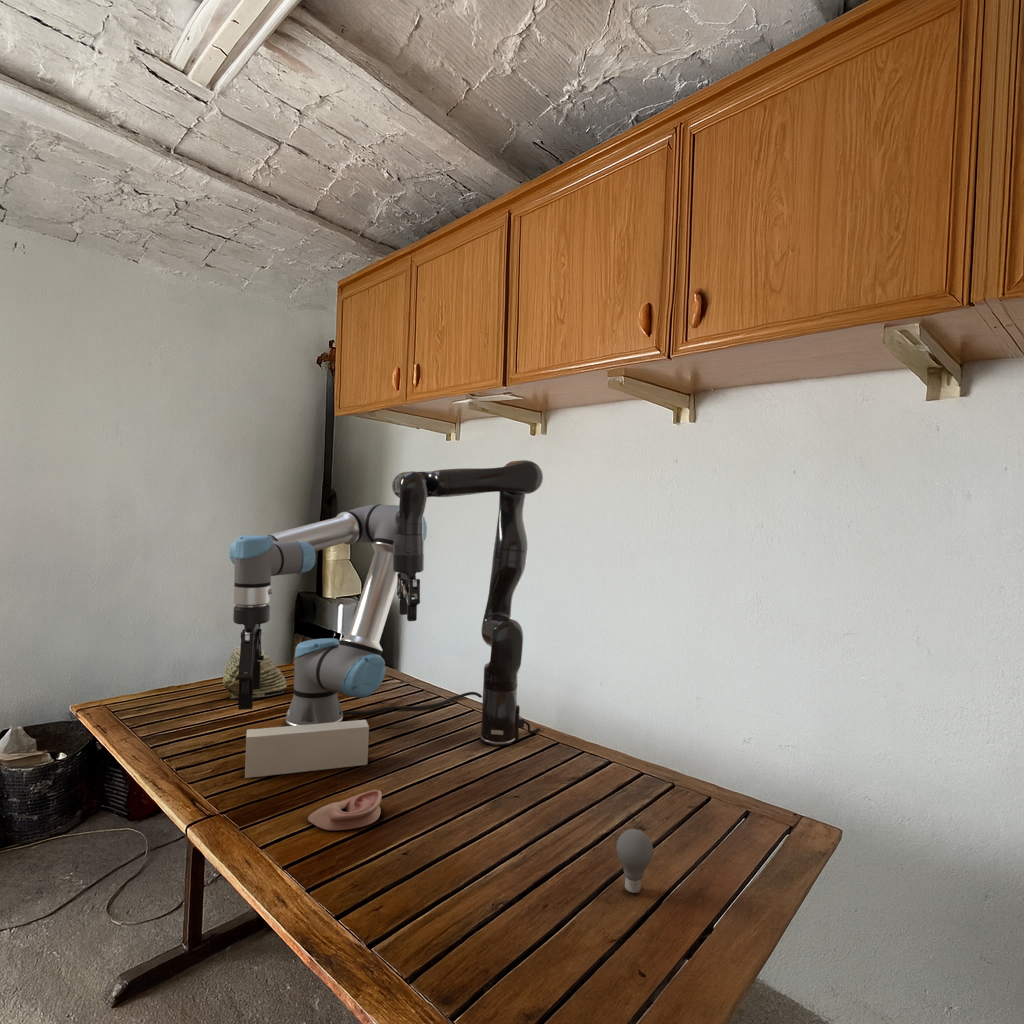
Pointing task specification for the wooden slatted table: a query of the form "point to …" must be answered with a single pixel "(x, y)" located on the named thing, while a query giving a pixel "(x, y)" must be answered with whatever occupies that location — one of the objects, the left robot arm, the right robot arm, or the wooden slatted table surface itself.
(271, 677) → the fossil
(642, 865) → the light bulb
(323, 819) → the anatomical model
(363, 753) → the bar
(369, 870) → the wooden slatted table surface
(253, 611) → the left robot arm
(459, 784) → the wooden slatted table surface
